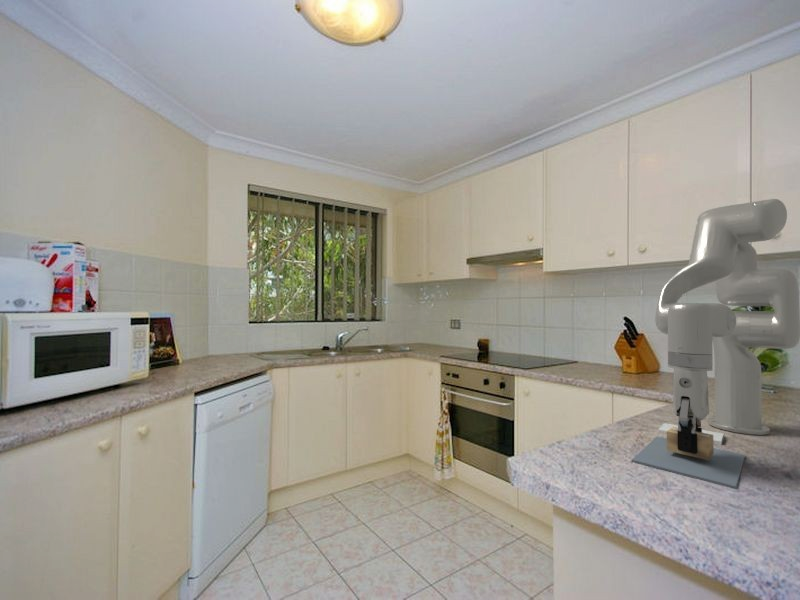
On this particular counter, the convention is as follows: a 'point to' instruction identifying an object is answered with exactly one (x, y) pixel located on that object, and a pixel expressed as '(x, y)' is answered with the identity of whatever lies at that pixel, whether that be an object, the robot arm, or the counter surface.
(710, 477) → the mat
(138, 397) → the counter surface
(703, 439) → the taped cardboard box
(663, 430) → the external hard drive
